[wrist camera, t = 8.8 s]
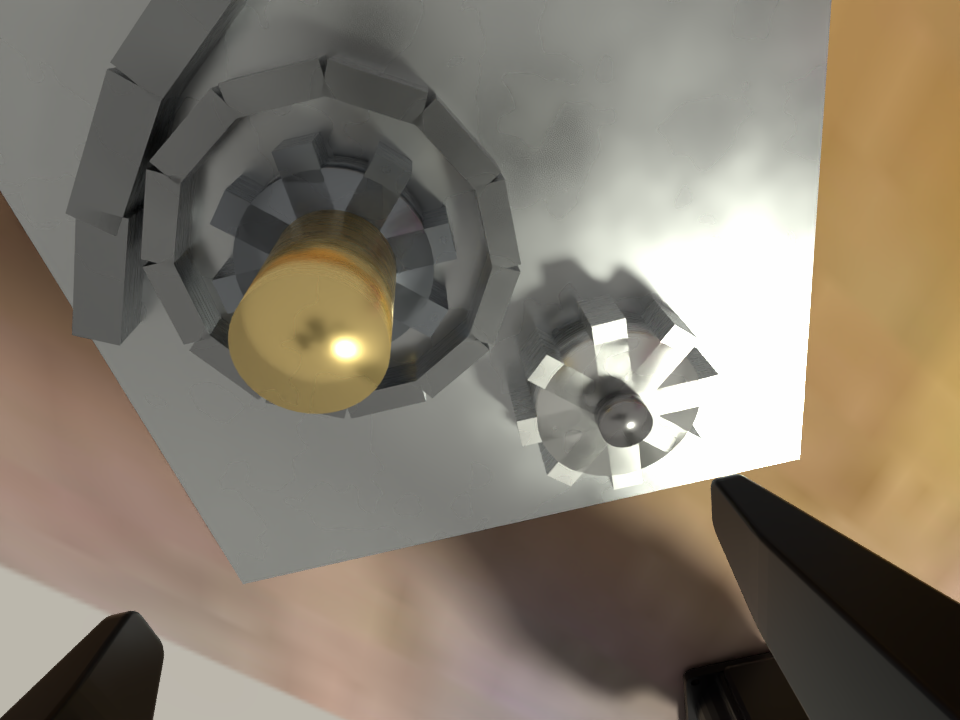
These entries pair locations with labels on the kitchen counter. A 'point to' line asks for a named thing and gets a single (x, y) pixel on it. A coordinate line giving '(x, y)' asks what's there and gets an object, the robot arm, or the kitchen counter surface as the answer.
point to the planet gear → (327, 273)
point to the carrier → (477, 235)
